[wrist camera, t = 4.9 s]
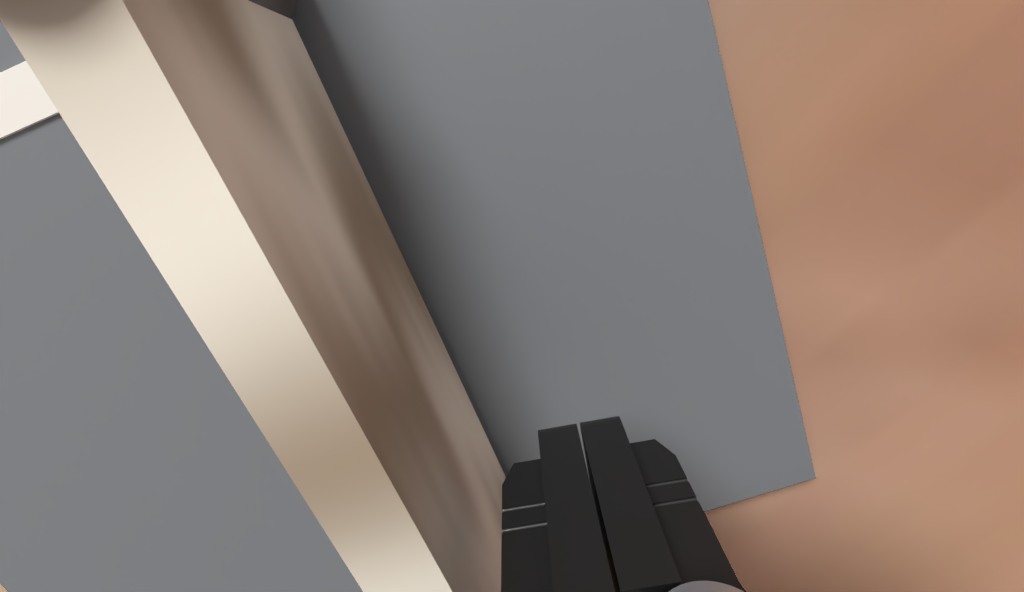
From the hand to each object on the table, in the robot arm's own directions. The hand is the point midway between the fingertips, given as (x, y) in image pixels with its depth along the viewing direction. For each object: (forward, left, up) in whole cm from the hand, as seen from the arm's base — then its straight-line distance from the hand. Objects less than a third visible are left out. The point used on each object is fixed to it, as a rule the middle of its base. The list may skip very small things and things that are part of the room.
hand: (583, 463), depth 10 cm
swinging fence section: (+3, -4, -3) cm, 5 cm away
